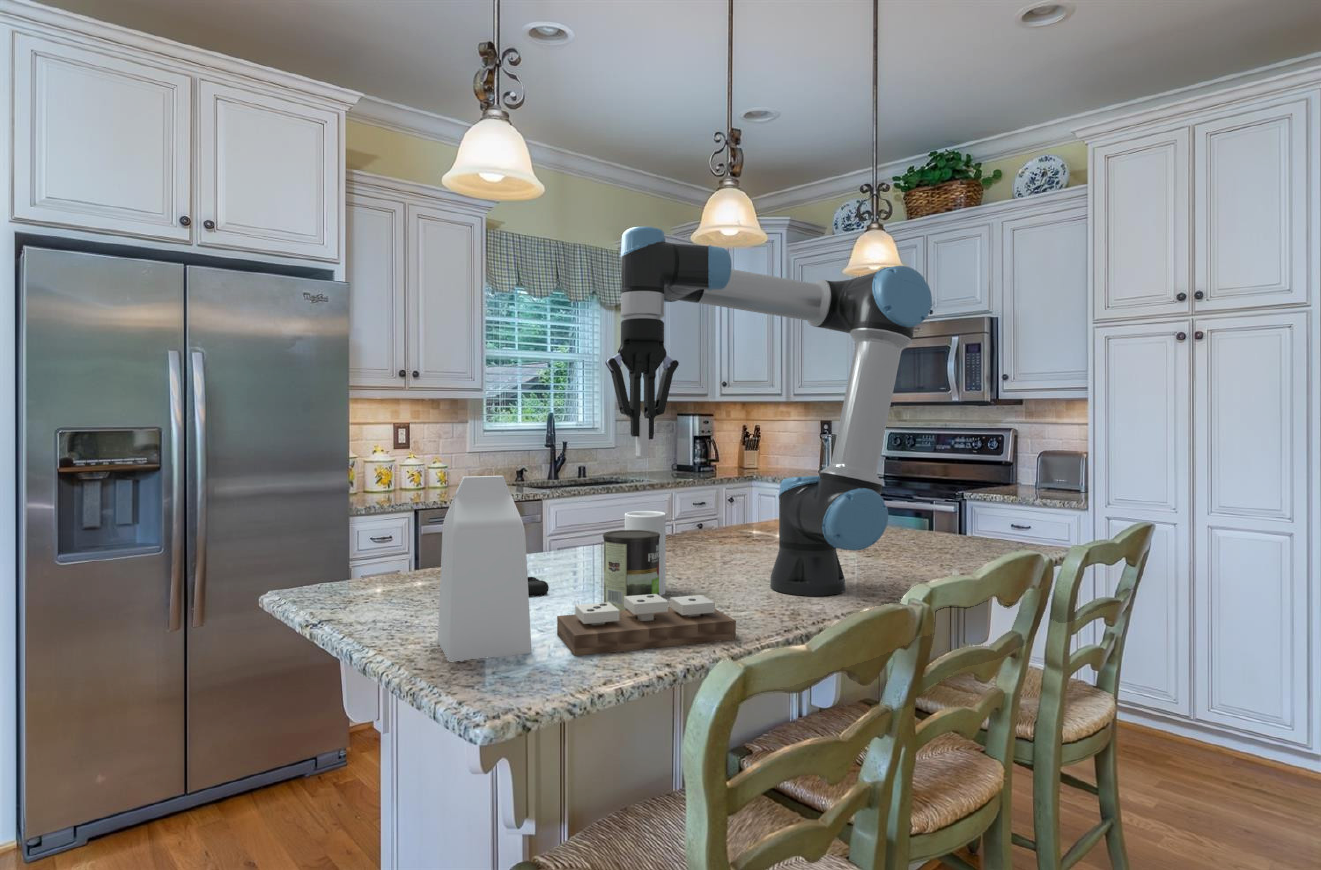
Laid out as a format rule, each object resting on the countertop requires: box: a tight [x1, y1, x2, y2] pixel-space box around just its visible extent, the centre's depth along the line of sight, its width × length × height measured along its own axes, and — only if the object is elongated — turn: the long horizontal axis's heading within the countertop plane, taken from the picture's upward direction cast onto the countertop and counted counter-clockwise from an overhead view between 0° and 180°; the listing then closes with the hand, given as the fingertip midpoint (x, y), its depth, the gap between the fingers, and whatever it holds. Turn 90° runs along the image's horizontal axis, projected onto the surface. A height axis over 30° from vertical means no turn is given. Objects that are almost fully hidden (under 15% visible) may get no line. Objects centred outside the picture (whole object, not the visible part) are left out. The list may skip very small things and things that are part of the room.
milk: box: [437, 475, 533, 663], centre depth 117 cm, size 12×12×26 cm
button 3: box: [574, 602, 619, 626], centre depth 120 cm, size 6×6×4 cm
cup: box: [624, 510, 667, 597], centre depth 155 cm, size 8×8×16 cm
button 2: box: [624, 594, 669, 621], centre depth 123 cm, size 6×6×4 cm
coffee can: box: [602, 529, 660, 611], centre depth 140 cm, size 10×10×14 cm
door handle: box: [528, 576, 550, 597], centre depth 155 cm, size 3×20×16 cm
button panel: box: [556, 606, 737, 657], centre depth 123 cm, size 26×12×3 cm, turn 110°
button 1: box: [669, 594, 716, 617], centre depth 126 cm, size 6×6×4 cm
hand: (642, 455), depth 134 cm, fingers closed
